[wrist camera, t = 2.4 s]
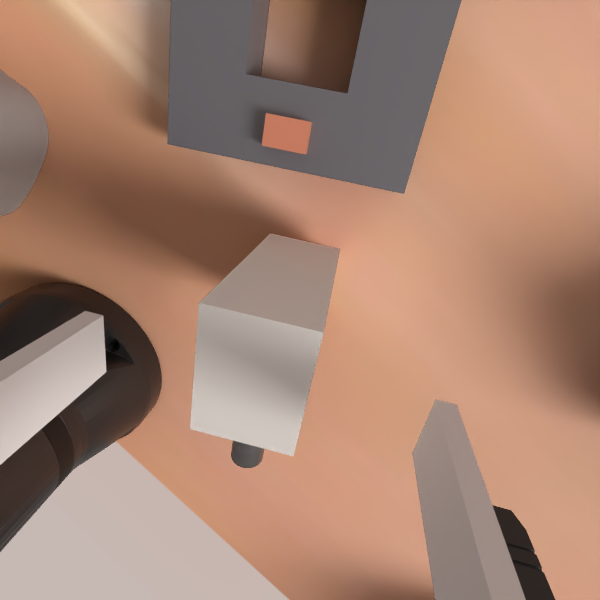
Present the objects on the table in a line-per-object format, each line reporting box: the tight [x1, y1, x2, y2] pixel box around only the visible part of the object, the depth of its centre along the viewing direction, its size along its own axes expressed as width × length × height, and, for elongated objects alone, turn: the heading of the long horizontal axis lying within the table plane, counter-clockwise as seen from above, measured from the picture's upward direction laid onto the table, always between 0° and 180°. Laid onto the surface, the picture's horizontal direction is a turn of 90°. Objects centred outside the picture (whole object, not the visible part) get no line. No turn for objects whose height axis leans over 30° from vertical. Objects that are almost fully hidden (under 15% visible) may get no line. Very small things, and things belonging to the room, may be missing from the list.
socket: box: [168, 0, 461, 194], centre depth 19 cm, size 14×14×4 cm
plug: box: [190, 233, 340, 468], centre depth 21 cm, size 9×4×14 cm, turn 170°
